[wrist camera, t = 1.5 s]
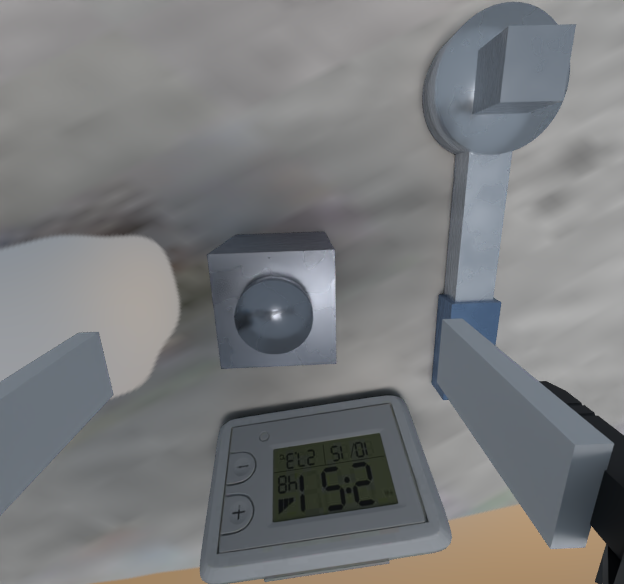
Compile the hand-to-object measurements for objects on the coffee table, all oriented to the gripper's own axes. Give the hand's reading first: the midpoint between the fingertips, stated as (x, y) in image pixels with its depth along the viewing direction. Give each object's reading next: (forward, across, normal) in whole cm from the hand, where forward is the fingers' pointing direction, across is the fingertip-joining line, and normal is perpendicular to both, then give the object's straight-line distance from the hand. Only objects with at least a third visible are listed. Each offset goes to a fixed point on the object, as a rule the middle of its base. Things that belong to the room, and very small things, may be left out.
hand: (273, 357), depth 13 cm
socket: (+13, 0, 0) cm, 13 cm away
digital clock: (+14, +2, -14) cm, 20 cm away
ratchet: (+13, +14, +3) cm, 19 cm away
